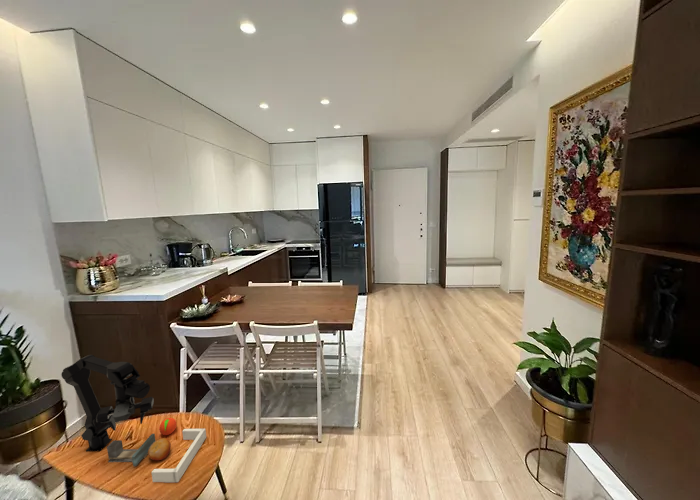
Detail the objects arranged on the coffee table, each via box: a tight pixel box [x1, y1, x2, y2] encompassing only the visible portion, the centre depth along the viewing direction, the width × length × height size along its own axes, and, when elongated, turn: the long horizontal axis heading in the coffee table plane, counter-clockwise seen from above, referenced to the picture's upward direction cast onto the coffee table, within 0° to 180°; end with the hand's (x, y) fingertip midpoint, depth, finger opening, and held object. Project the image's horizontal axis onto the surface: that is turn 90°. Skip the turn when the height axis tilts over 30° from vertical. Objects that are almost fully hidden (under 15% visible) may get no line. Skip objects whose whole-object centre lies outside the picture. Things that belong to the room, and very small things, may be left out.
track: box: [107, 448, 139, 463], centre depth 124 cm, size 13×6×1 cm, turn 90°
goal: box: [151, 428, 207, 483], centre depth 122 cm, size 10×22×4 cm, turn 0°
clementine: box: [158, 417, 177, 436], centre depth 135 cm, size 8×7×7 cm
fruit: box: [148, 437, 172, 461], centre depth 124 cm, size 8×8×8 cm
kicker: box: [106, 433, 157, 467], centre depth 123 cm, size 15×12×6 cm
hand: (128, 426), depth 124 cm, fingers open, 9 cm apart
